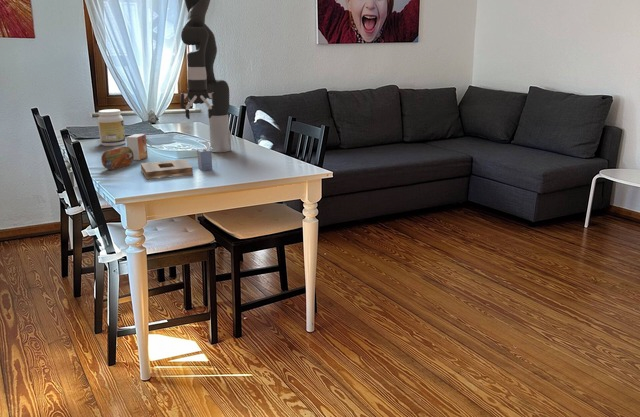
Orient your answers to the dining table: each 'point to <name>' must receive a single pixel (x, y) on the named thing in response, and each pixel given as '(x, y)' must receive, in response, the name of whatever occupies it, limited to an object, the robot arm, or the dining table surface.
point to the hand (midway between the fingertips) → (199, 118)
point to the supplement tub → (111, 127)
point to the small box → (137, 146)
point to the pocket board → (166, 169)
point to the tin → (117, 158)
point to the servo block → (204, 159)
